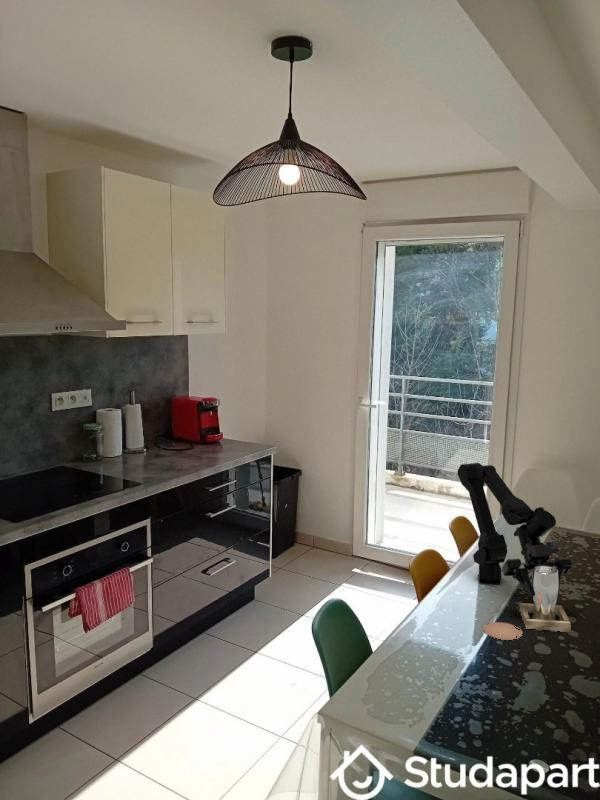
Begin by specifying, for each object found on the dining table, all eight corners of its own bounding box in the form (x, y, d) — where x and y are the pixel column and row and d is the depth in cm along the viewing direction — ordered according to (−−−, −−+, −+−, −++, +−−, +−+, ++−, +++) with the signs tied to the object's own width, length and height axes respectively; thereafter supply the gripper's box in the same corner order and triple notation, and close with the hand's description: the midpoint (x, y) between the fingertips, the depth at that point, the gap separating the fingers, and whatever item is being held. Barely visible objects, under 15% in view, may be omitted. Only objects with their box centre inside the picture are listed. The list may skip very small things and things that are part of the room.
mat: (485, 639, 167) (485, 638, 167) (482, 622, 177) (482, 621, 177) (525, 641, 165) (525, 640, 165) (519, 624, 175) (519, 623, 175)
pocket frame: (526, 629, 172) (526, 620, 172) (519, 611, 183) (519, 603, 183) (570, 632, 170) (570, 623, 170) (561, 613, 181) (561, 605, 181)
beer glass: (529, 624, 175) (530, 571, 174) (532, 614, 181) (533, 563, 180) (556, 629, 172) (557, 575, 170) (558, 618, 178) (560, 567, 177)
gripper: (506, 531, 179) (519, 585, 169) (571, 530, 179) (589, 583, 169) (496, 549, 188) (509, 601, 178) (559, 548, 188) (574, 599, 178)
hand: (545, 595), depth 176 cm, fingers closed on beer glass, 7 cm apart
